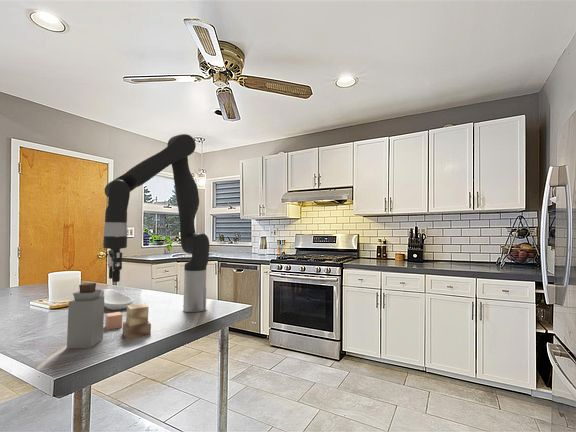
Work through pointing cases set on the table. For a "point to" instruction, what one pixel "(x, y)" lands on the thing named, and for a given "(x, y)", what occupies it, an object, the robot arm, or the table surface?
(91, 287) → the perfume bottle
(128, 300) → the spoon rest
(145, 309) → the tower cube
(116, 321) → the block
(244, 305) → the table surface
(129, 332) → the tower base
